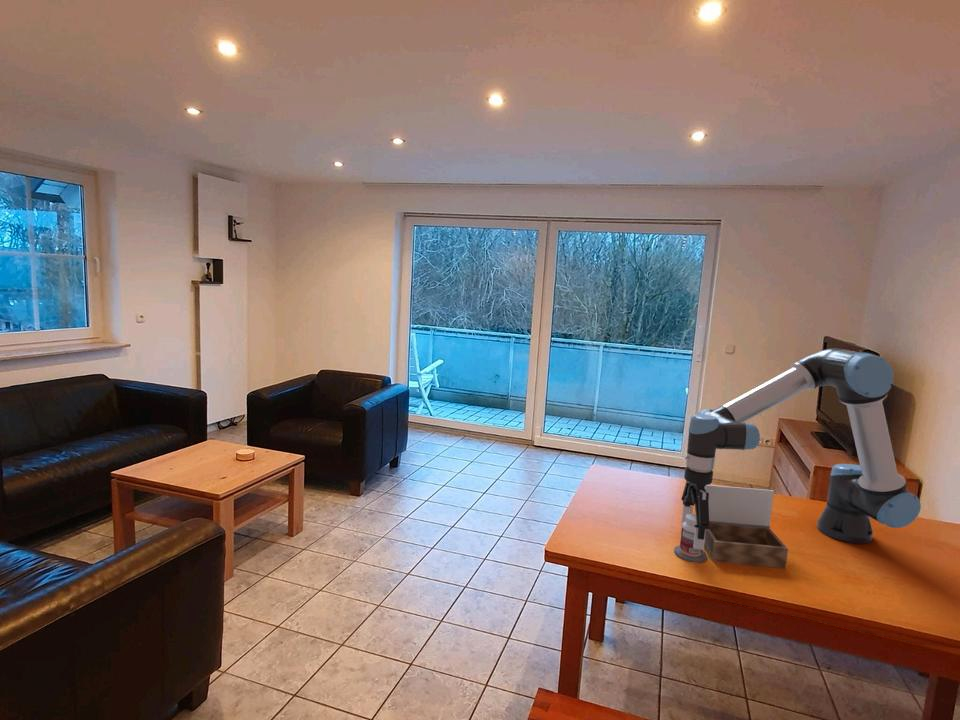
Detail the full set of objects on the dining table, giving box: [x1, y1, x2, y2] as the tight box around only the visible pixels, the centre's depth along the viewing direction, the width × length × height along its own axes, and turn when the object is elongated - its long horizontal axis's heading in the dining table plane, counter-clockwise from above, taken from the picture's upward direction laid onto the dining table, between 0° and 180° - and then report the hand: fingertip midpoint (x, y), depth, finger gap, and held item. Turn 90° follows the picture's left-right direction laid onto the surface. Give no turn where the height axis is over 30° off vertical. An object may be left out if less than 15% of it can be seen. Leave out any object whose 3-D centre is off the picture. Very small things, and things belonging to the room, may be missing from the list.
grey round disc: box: [673, 544, 707, 563], centre depth 158 cm, size 9×9×1 cm
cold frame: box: [704, 523, 789, 569], centre depth 161 cm, size 20×17×12 cm
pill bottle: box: [679, 513, 703, 557], centre depth 158 cm, size 6×6×11 cm
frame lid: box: [705, 484, 775, 529], centre depth 165 cm, size 20×1×12 cm, turn 83°
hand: (691, 537), depth 158 cm, fingers open, 13 cm apart
